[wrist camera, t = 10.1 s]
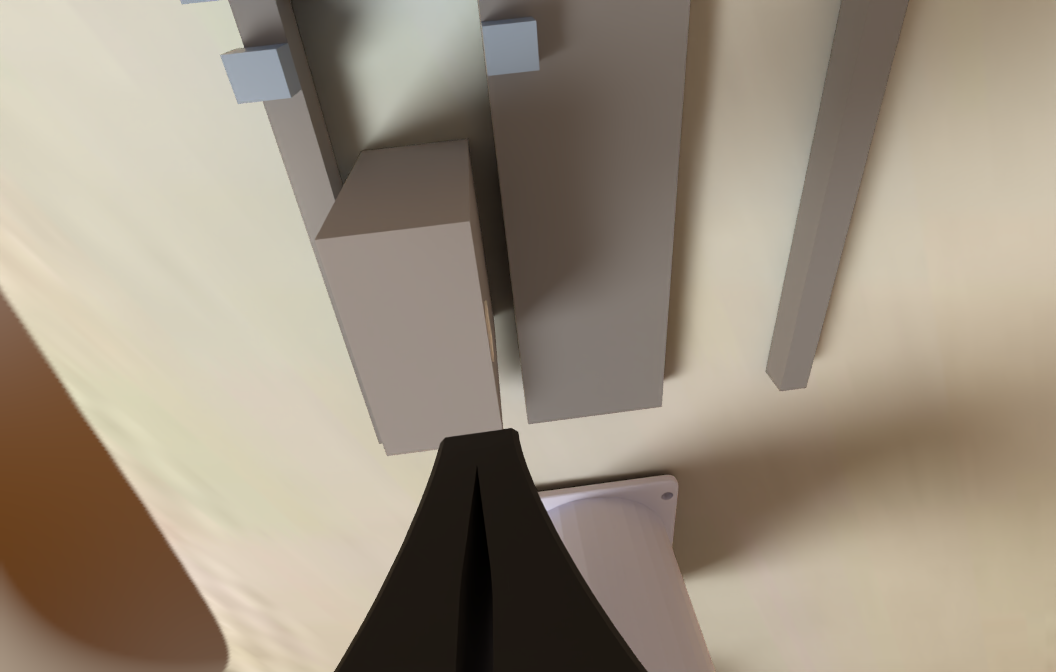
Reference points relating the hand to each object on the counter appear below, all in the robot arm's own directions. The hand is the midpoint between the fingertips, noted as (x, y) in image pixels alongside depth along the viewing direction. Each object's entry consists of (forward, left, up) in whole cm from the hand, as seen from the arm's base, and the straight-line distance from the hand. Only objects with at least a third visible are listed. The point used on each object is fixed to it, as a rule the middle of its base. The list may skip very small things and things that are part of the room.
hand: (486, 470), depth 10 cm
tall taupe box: (-1, +1, -9) cm, 9 cm away
